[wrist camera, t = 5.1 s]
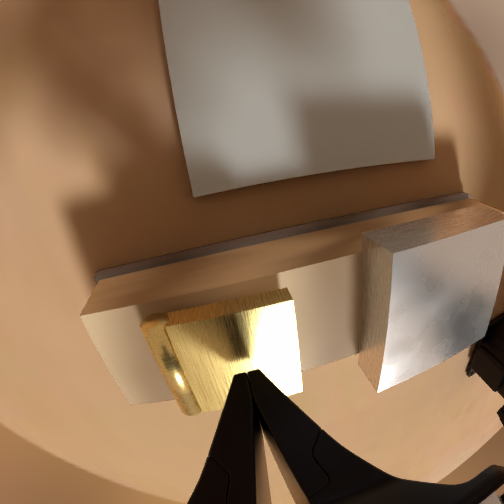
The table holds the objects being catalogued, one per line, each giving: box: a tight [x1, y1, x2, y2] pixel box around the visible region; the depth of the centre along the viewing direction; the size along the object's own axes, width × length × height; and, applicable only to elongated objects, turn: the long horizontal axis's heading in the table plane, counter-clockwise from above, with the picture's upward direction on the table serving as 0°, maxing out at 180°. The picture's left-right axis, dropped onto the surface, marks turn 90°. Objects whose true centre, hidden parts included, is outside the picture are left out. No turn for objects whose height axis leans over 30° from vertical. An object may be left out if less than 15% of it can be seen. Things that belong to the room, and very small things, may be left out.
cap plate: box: [358, 204, 504, 393], centre depth 11 cm, size 7×6×2 cm
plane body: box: [80, 192, 504, 405], centre depth 13 cm, size 20×5×4 cm, turn 99°
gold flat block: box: [140, 287, 303, 416], centre depth 10 cm, size 1×4×5 cm
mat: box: [158, 0, 435, 198], centre depth 11 cm, size 12×10×1 cm
